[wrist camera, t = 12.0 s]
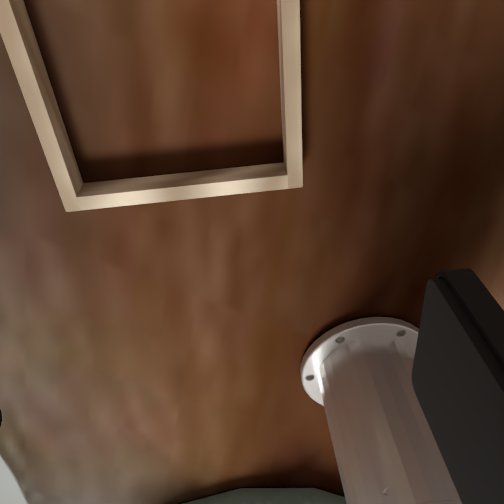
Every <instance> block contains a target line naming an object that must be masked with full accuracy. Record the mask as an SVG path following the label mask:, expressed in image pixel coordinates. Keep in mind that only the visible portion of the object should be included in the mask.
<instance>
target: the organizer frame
mask: <svg viewBox="0 0 504 504" xmlns="http://www.w3.org/2000/svg"><path fill="white" fill-rule="evenodd" d="M277 16H278V39H279V63H280V86H281V110H282V133H283V157H284V162H282V163H272V164H263V165H253V166H244V167H234V168H225V169H215V170H205V171H196V172H186V173H177V174H167V175H157V176H148V177H138V178H129V179H119V180H110V181H100V182H90V183H83V181H82V178H81V175H80V172H79V169H78V166H77V163H76V160H75V157H74V153H73V150H72V147H71V144H70V141H69V138H68V135H67V132H66V129H65V126H64V123H63V120H62V117H61V114H60V111H59V108H58V105H57V102H56V99H55V95H54V92H53V89H52V86H51V83H50V80H49V77H48V74H47V71H46V68H45V65H44V62H43V59H42V56H41V53H40V50H39V47H38V44H37V41H36V37H35V34H34V31H33V28H32V25H31V22H30V19H29V16H28V13H27V10H26V7H25V4H24V1H23V0H0V33H1V36H2V38H3V41H4V44H5V47H6V49H7V52H8V55H9V58H10V60H11V63H12V66H13V68H14V71H15V74H16V77H17V79H18V82H19V85H20V88H21V90H22V93H23V96H24V98H25V101H26V104H27V107H28V109H29V112H30V115H31V118H32V120H33V123H34V126H35V128H36V131H37V134H38V137H39V139H40V142H41V145H42V147H43V150H44V153H45V156H46V158H47V161H48V164H49V167H50V169H51V172H52V175H53V177H54V180H55V183H56V186H57V188H58V191H59V194H60V197H61V199H62V202H63V205H64V207H65V210H66V212H70V211H79V210H89V209H99V208H108V207H118V206H127V205H137V204H146V203H156V202H165V201H175V200H184V199H194V198H203V197H213V196H222V195H232V194H241V193H251V192H260V191H270V190H279V189H289V188H298V187H303V172H302V113H301V53H300V0H277Z"/></svg>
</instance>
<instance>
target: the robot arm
mask: <svg viewBox="0 0 504 504" xmlns="http://www.w3.org/2000/svg"><path fill="white" fill-rule="evenodd" d="M300 374H301V379H302V384H303V387H304V389H305V391H306V392H307V394H308V395H309V396H310V397H311V398H312V399H313V400H315V401H316V402H317V403H319V404H321V405H323V406H324V408H325V412H326V417H327V421H328V425H329V430H330V434H331V438H332V443H333V447H334V451H335V456H336V460H337V464H338V469H339V473H340V477H341V482H342V486H343V490H344V495H345V499H346V503H347V504H504V311H503V309H502V308H501V307H500V305H499V304H498V303H497V301H496V300H495V299H494V298H493V296H492V295H491V294H490V292H489V291H488V290H487V288H486V287H485V286H484V285H483V283H482V282H481V281H480V279H479V278H478V277H477V275H476V274H475V273H474V272H473V271H472V270H471V269H457V270H445V271H439V272H438V273H437V274H436V276H435V279H430V280H428V282H427V285H426V290H425V296H424V302H423V308H422V314H421V320H420V326H419V329H418V328H417V327H415V326H414V325H412V324H411V323H408V322H406V321H403V320H400V319H395V318H390V317H369V318H361V319H357V320H353V321H349V322H346V323H344V324H341V325H339V326H336V327H335V328H333V329H331V330H329V331H327V332H326V333H324V334H323V335H322V336H320V337H319V338H318V339H317V340H315V342H314V343H313V344H312V345H311V346H310V347H309V348H308V350H307V351H306V353H305V355H304V356H303V359H302V362H301V368H300ZM1 422H2V414H1V410H0V426H1Z"/></svg>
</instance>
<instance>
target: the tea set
mask: <svg viewBox="0 0 504 504" xmlns="http://www.w3.org/2000/svg"><path fill="white" fill-rule="evenodd" d="M183 504H347V503H346V499H345V497H342V496H339V495H336V494H333V493H329V492H326V491H323V490H320V489H316V488H240V489H236V490H232V491H228V492H225V493H221V494H217V495H213V496H209V497H206V498H202V499H198V500H194V501H190V502H187V503H183Z"/></svg>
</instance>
